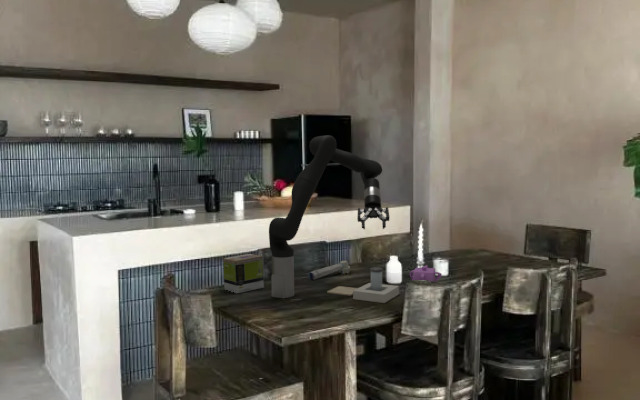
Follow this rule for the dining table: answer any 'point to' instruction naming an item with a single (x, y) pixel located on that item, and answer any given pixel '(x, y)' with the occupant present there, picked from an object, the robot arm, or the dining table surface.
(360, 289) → the housing
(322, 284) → the dining table surface
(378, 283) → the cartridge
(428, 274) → the teapot
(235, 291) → the tea box
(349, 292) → the mat
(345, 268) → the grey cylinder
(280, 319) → the dining table surface
